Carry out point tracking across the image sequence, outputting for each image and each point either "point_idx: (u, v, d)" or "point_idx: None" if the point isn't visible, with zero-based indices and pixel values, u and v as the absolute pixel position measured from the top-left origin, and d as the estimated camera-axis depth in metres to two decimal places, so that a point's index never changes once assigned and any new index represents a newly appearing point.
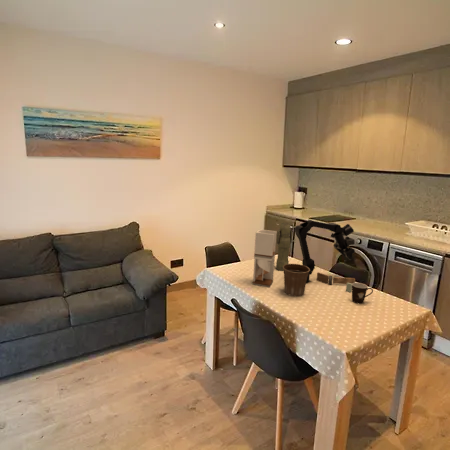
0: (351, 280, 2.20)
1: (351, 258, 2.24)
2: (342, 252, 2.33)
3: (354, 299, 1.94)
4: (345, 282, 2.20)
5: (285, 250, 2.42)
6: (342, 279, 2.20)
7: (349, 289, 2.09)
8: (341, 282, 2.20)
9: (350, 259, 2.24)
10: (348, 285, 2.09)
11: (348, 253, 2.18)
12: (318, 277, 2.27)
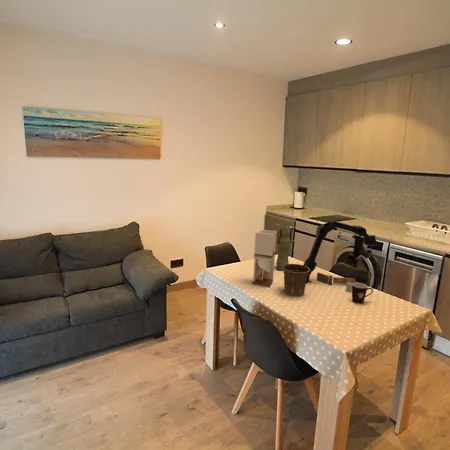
0: (351, 280, 2.20)
1: (355, 264, 2.23)
2: None
3: (354, 299, 1.94)
4: (345, 282, 2.20)
5: (285, 250, 2.42)
6: (342, 279, 2.20)
7: (349, 289, 2.09)
8: (341, 282, 2.20)
9: (354, 264, 2.23)
10: (348, 285, 2.09)
11: (348, 256, 2.17)
12: (318, 277, 2.27)
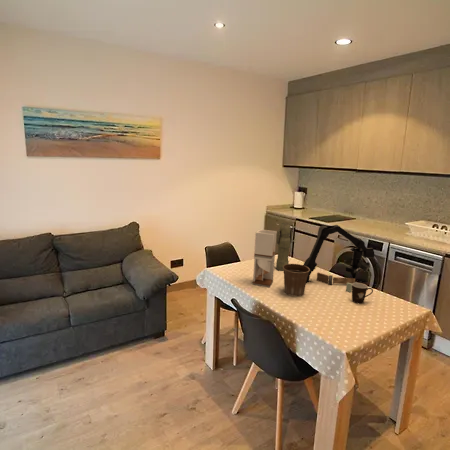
0: (351, 280, 2.20)
1: (354, 277, 2.24)
2: None
3: (354, 299, 1.94)
4: (345, 282, 2.20)
5: (285, 250, 2.42)
6: (342, 279, 2.20)
7: (349, 289, 2.09)
8: (341, 282, 2.20)
9: (353, 277, 2.25)
10: (348, 285, 2.09)
11: (346, 269, 2.19)
12: (318, 277, 2.27)
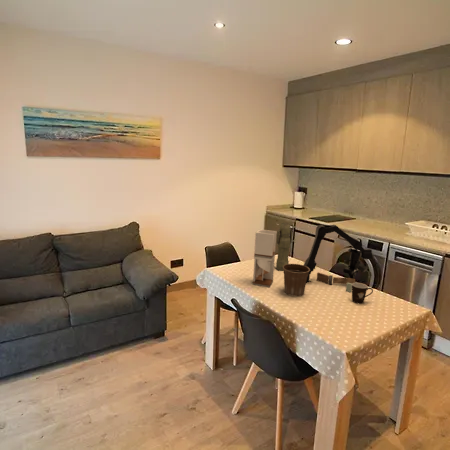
0: (351, 280, 2.20)
1: None
2: None
3: (354, 299, 1.94)
4: (345, 282, 2.20)
5: (285, 250, 2.42)
6: (342, 279, 2.20)
7: (349, 289, 2.09)
8: (341, 282, 2.20)
9: None
10: (348, 285, 2.09)
11: (344, 270, 2.17)
12: (318, 277, 2.27)
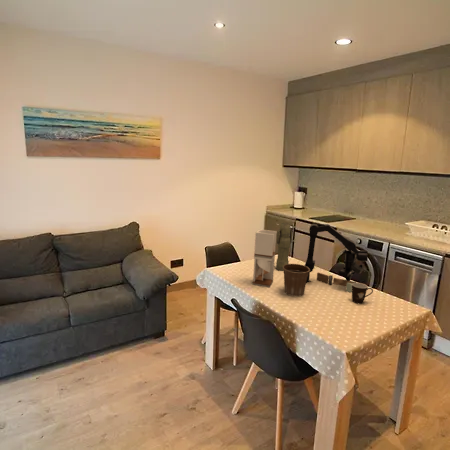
0: None
1: (348, 280, 2.17)
2: None
3: (354, 299, 1.94)
4: (345, 284, 2.16)
5: (285, 250, 2.42)
6: (342, 281, 2.17)
7: (349, 289, 2.09)
8: (341, 284, 2.17)
9: None
10: (348, 285, 2.09)
11: (339, 272, 2.11)
12: (318, 277, 2.27)
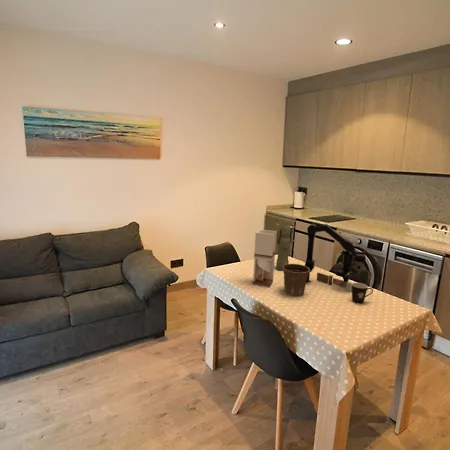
0: None
1: (346, 281, 2.15)
2: None
3: (354, 299, 1.94)
4: (344, 285, 2.14)
5: (285, 250, 2.42)
6: (341, 281, 2.15)
7: (349, 289, 2.09)
8: (340, 284, 2.16)
9: None
10: (348, 285, 2.09)
11: (337, 273, 2.09)
12: (318, 277, 2.27)
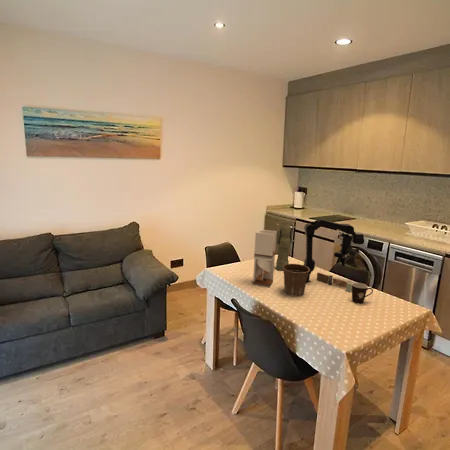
0: None
1: (343, 263, 2.21)
2: None
3: (354, 299, 1.94)
4: (344, 285, 2.14)
5: (285, 250, 2.42)
6: (341, 281, 2.15)
7: (349, 289, 2.09)
8: (340, 284, 2.16)
9: (342, 263, 2.21)
10: (348, 285, 2.09)
11: (335, 254, 2.15)
12: (318, 277, 2.27)
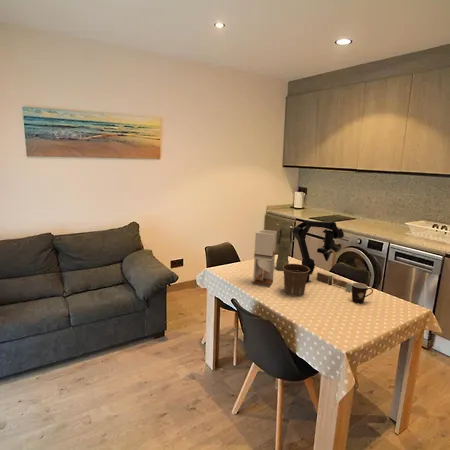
0: None
1: (326, 258, 2.28)
2: None
3: (354, 299, 1.94)
4: (344, 285, 2.14)
5: (285, 250, 2.42)
6: (341, 281, 2.15)
7: (349, 289, 2.09)
8: (340, 284, 2.16)
9: (325, 258, 2.29)
10: (348, 285, 2.09)
11: (318, 250, 2.23)
12: (318, 277, 2.27)
